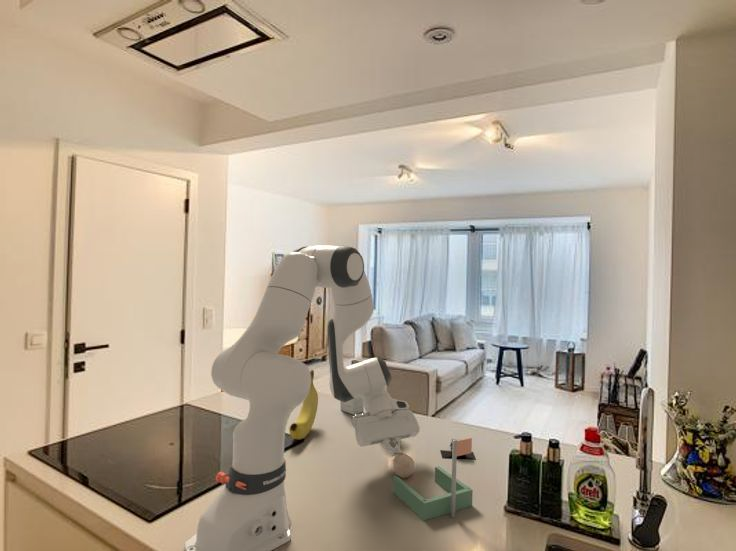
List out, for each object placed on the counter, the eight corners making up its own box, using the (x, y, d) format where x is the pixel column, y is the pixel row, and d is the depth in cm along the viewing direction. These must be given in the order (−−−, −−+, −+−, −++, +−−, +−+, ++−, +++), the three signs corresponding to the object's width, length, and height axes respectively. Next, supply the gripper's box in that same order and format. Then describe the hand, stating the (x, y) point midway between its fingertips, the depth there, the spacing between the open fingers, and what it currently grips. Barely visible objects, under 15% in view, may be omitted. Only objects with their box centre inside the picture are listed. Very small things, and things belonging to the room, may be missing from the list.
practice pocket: (393, 492, 111) (394, 423, 111) (438, 480, 118) (439, 415, 117) (428, 525, 97) (430, 446, 97) (478, 510, 103) (479, 436, 103)
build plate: (477, 453, 138) (477, 437, 137) (481, 464, 130) (482, 448, 130) (435, 450, 138) (436, 435, 138) (438, 461, 131) (438, 445, 131)
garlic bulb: (387, 475, 120) (387, 447, 120) (402, 468, 125) (402, 440, 124) (405, 484, 115) (405, 454, 115) (419, 476, 120) (420, 448, 120)
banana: (301, 448, 137) (302, 385, 137) (284, 446, 138) (284, 384, 138) (320, 422, 159) (321, 369, 159) (305, 421, 160) (306, 368, 160)
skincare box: (363, 412, 172) (364, 375, 172) (352, 415, 168) (353, 377, 168) (350, 407, 178) (350, 371, 178) (338, 410, 174) (339, 373, 174)
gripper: (353, 410, 125) (367, 456, 117) (412, 401, 135) (429, 444, 126) (346, 420, 129) (360, 466, 121) (404, 411, 139) (420, 453, 130)
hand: (396, 454), depth 123 cm, fingers closed
